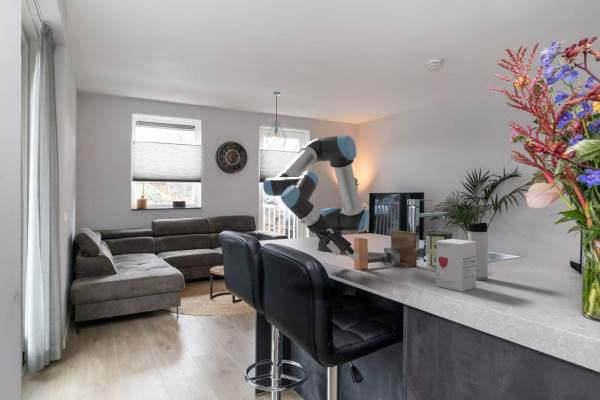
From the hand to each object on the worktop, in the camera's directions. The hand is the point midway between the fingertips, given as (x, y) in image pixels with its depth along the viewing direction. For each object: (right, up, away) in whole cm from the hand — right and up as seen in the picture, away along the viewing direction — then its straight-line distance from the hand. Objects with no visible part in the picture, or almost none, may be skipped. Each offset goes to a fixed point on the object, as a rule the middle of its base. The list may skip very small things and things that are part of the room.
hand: (347, 256), depth 144 cm
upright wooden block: (+10, -5, +5) cm, 13 cm away
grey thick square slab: (+20, -5, +9) cm, 23 cm away
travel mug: (+44, -6, -16) cm, 47 cm away
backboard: (+24, -5, +11) cm, 27 cm away
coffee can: (+39, -5, +6) cm, 40 cm away
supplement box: (+32, -6, -27) cm, 42 cm away
